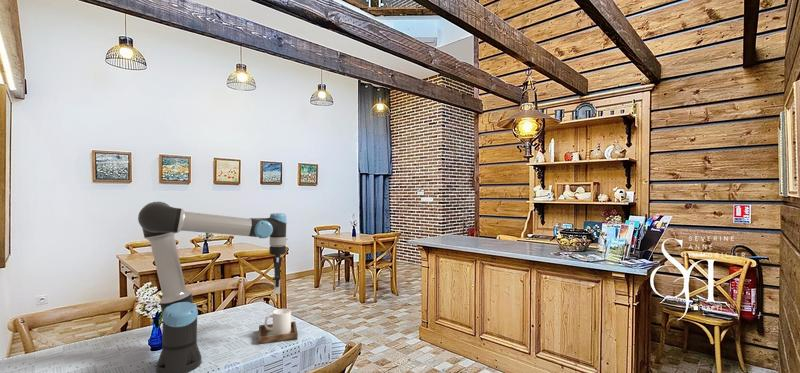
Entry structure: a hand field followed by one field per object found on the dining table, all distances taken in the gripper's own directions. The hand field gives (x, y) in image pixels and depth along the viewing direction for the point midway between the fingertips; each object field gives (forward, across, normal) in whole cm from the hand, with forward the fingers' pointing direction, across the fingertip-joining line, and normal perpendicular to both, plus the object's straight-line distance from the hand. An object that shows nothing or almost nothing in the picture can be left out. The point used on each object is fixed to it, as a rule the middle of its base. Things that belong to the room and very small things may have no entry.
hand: (277, 289), depth 176 cm
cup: (+20, -1, -1) cm, 20 cm away
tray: (+21, -1, -1) cm, 21 cm away
